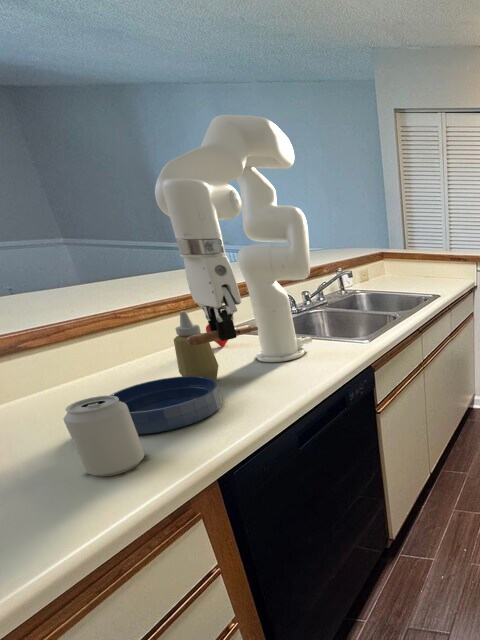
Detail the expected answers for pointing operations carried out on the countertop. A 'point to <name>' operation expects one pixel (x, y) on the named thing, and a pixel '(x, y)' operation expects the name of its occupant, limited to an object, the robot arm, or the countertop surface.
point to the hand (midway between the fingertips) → (224, 337)
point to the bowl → (170, 402)
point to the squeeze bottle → (193, 351)
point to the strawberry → (221, 343)
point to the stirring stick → (214, 335)
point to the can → (104, 435)
